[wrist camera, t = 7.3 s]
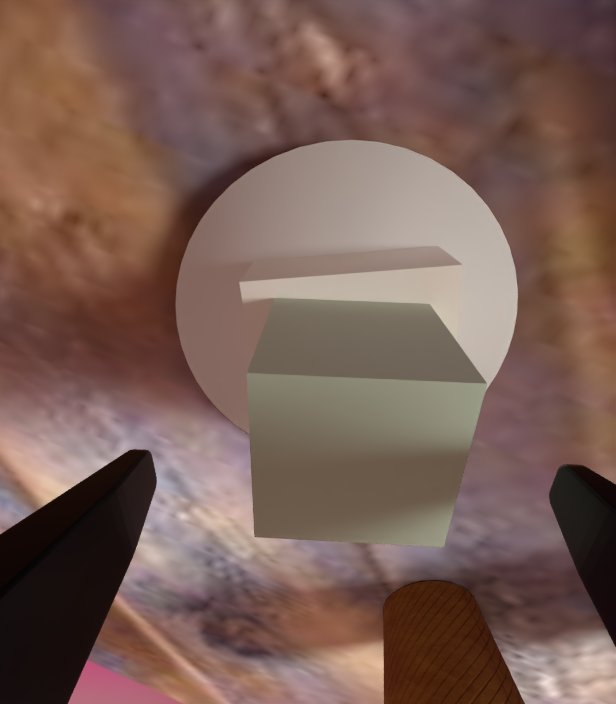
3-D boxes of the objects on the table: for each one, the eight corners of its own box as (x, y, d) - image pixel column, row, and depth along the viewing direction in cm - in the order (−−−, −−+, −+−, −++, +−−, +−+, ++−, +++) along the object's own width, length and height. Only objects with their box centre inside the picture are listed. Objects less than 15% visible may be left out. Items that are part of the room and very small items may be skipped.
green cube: (408, 429, 15) (443, 547, 10) (276, 423, 15) (254, 537, 10) (429, 304, 13) (487, 383, 8) (274, 297, 13) (246, 373, 8)
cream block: (429, 402, 18) (448, 445, 15) (277, 410, 18) (268, 453, 16) (438, 245, 15) (462, 264, 12) (254, 260, 15) (239, 282, 13)
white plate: (468, 446, 20) (478, 466, 19) (204, 436, 21) (196, 455, 20) (540, 143, 14) (562, 141, 13) (165, 140, 15) (149, 137, 14)
